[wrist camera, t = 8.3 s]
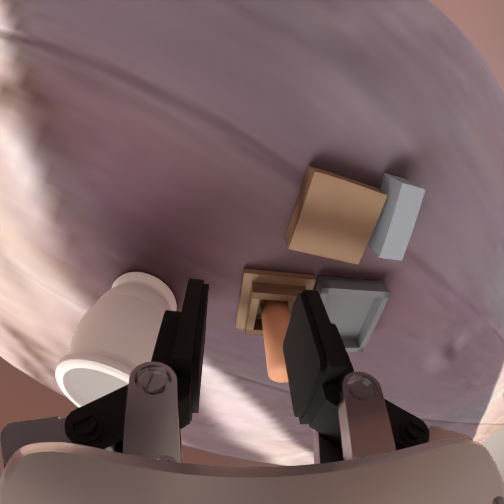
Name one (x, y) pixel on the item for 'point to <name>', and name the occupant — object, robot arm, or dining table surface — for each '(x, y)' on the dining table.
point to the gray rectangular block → (396, 217)
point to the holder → (267, 294)
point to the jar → (114, 337)
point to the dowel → (275, 336)
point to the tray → (353, 307)
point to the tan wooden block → (334, 216)
